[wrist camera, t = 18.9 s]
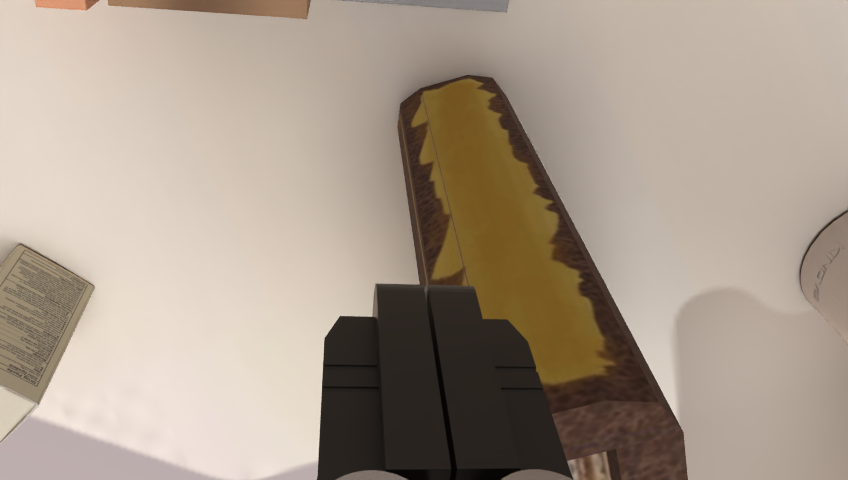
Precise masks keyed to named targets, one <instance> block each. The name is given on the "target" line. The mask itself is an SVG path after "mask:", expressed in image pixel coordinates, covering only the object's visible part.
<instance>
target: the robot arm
mask: <svg viewBox="0 0 848 480" xmlns="http://www.w3.org/2000/svg"><path fill="white" fill-rule="evenodd" d="M801 286H802V290H803V293H804V294H805V296H806V298H807V300H808V301H809V302H810V303H811V304H812V305H813V306H814V307H815V309H816V310H817V311H818V312H819V313H820V314H821V315H822V316H823V317H824V318H825V319H826V320H827V322H828V323H829V324H830V325H831V326H832V327H833V328H834V329H835V330H836V331H837V332H838V334H839V335H840V336H841V337H842V338H843V339H844V340H845V342H846V343H847V344H848V212H847V213H846V214H844V215H843V216H841V217H840V218H838V219H837V220H835V221H834V222H833V223H832V224H830V225H829V226H828V227H827V228H826V229H825V230H824V231H823V232H822V233H821V234H820V235H819V236H818V238H817V239H816V240H815V242H814V243H813V244H812V245H811V247H810V249H809V251H808V253H807V255H806V256H805V259H804V262H803V265H802V269H801ZM317 480H574V479H573V477H572V474H571V471H570V468H569V465H568V462H567V459H566V456H565V453H564V450H563V447H562V444H561V441H560V438H559V435H558V432H557V429H556V426H555V423H554V420H553V417H552V413H551V410H550V407H549V404H548V401H547V398H546V395H545V393H543V386H542V383H541V380H540V377H539V374H538V372H536V365H535V362H534V359H533V355H532V352H531V349H530V346H529V343H528V341H527V340H526V339H525V338H524V337H523V336H522V335H521V333H520V332H519V331H518V330H517V329H516V328H515V327H514V326H513V325H512V324H511V323H510V322H509V321H508V320H507V319H483V317H482V313H481V309H480V306H479V302H478V298H477V294H476V290H475V288H474V286H455V285H426V286H425V289H424V286H423V285H408V284H375V290H374V303H373V317H353V316H340V317H339V318H338V320H337V321H336V323H335V324H334V326H333V327H332V329H331V330H330V331H329V333H328V334H327V336H326V337H325V341H324V361H323V381H322V401H321V421H320V441H319V461H318V477H317Z"/></svg>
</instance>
